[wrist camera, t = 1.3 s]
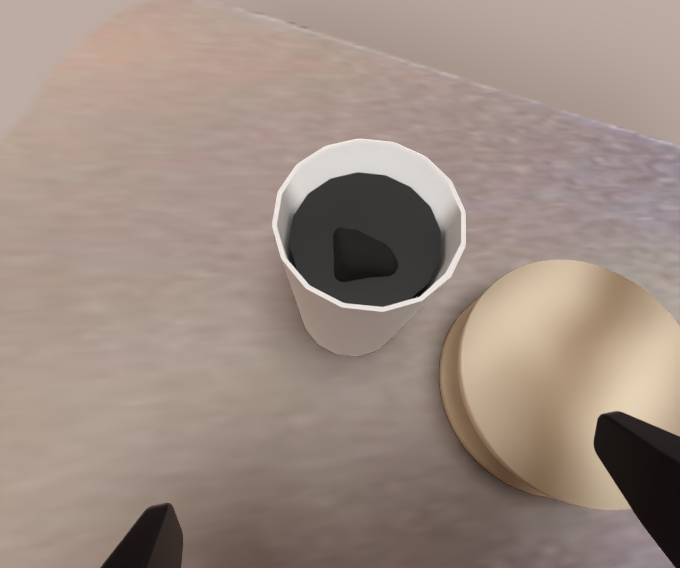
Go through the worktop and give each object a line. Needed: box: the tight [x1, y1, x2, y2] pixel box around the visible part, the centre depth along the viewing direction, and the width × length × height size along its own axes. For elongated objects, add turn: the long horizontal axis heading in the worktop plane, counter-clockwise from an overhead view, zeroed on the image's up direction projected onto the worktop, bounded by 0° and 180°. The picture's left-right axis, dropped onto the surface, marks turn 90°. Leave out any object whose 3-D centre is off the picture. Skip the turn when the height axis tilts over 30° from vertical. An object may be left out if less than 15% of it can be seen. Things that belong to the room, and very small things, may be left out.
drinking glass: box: [272, 138, 466, 357], centre depth 19 cm, size 7×7×10 cm
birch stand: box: [439, 260, 680, 510], centre depth 21 cm, size 11×11×4 cm
